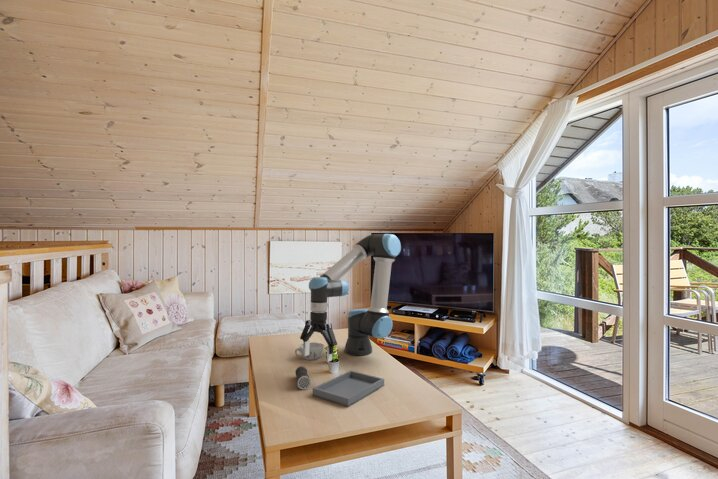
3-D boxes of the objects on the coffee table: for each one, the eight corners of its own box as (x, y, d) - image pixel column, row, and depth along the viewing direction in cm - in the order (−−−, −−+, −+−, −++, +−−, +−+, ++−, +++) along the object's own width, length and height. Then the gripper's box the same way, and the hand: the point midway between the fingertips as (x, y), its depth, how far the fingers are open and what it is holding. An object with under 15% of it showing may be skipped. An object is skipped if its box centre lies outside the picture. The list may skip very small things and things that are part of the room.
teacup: (321, 355, 206) (321, 341, 206) (325, 362, 194) (325, 347, 194) (293, 358, 202) (293, 343, 202) (296, 365, 190) (296, 349, 190)
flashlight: (303, 378, 174) (292, 374, 173) (308, 367, 174) (297, 363, 173) (307, 391, 159) (295, 386, 158) (312, 379, 160) (300, 374, 158)
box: (350, 377, 174) (350, 370, 174) (384, 385, 164) (384, 378, 164) (312, 395, 153) (312, 388, 153) (348, 406, 142) (348, 398, 142)
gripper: (293, 309, 177) (292, 355, 176) (334, 315, 162) (334, 365, 162) (304, 307, 183) (303, 351, 182) (345, 313, 168) (344, 361, 168)
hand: (317, 358), depth 172 cm, fingers open, 13 cm apart
